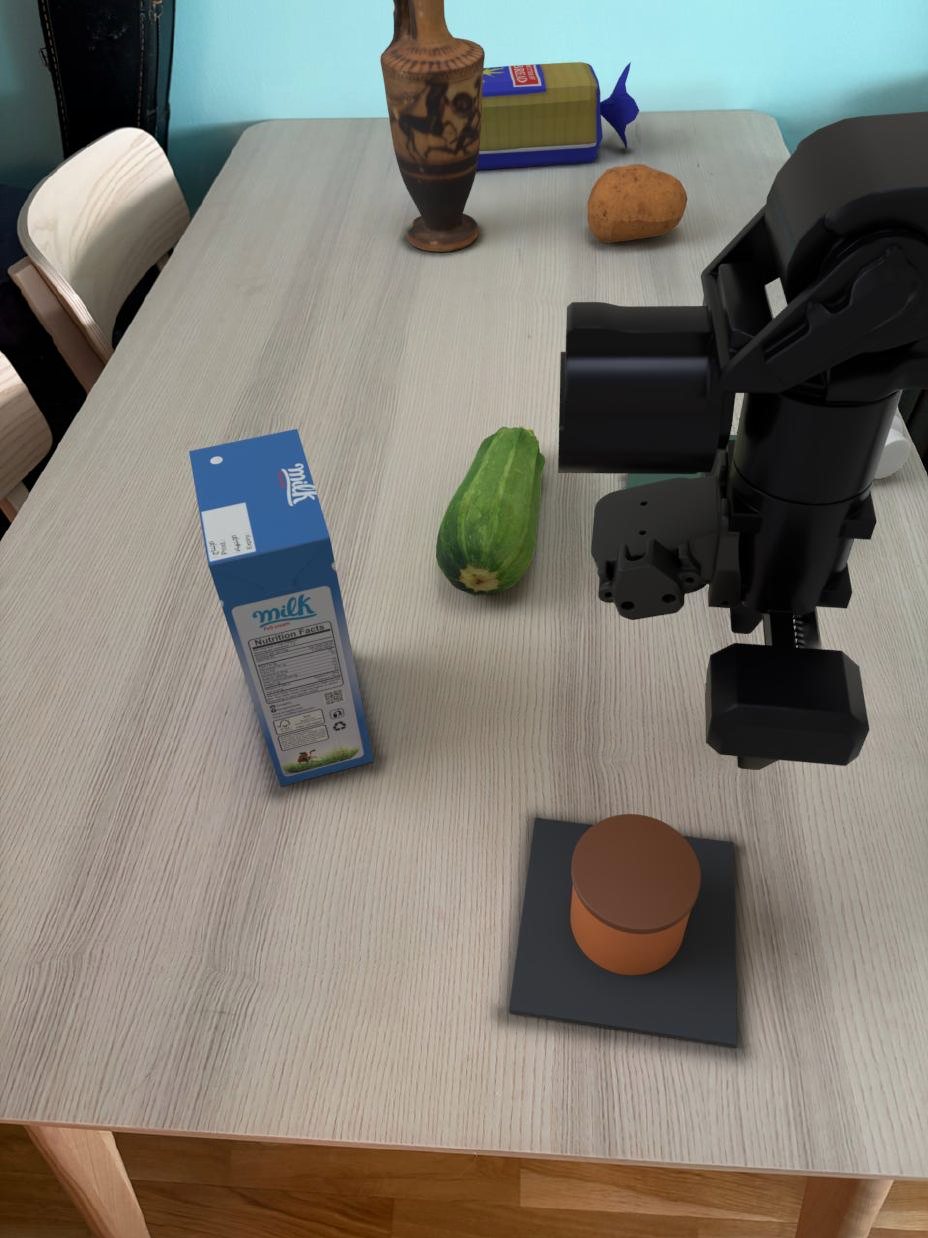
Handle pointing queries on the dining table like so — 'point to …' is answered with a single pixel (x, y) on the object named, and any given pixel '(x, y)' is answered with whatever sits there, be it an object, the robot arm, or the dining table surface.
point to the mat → (588, 994)
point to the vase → (434, 120)
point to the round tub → (632, 893)
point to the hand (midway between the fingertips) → (744, 695)
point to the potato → (635, 203)
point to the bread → (548, 114)
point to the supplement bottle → (893, 451)
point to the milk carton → (282, 602)
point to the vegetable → (493, 515)
